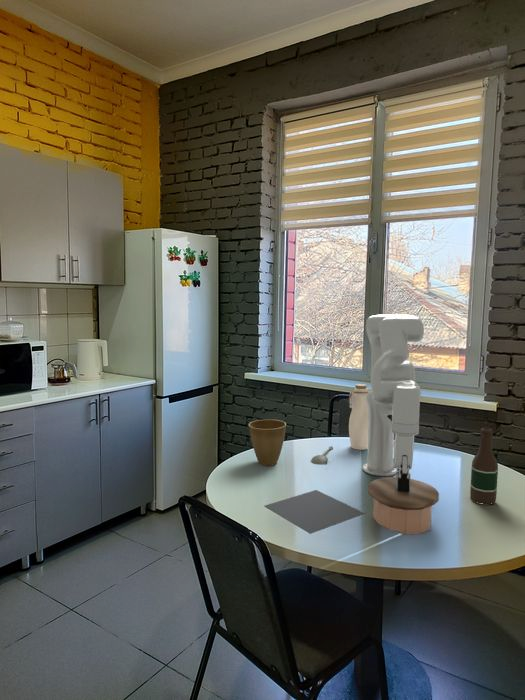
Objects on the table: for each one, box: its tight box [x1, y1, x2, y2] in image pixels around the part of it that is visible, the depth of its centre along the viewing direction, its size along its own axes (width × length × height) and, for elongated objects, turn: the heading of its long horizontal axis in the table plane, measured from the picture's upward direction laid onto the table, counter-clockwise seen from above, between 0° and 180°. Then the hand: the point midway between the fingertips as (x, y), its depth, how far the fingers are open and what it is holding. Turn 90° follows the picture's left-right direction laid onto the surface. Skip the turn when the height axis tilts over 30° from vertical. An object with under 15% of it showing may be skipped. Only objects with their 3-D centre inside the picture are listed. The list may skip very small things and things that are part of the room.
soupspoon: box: [311, 445, 334, 466], centre depth 201 cm, size 22×3×7 cm
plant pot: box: [248, 419, 287, 467], centre depth 192 cm, size 15×15×16 cm
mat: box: [264, 489, 366, 535], centre depth 148 cm, size 22×22×1 cm
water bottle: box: [348, 383, 371, 451], centre depth 211 cm, size 10×9×28 cm
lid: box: [367, 470, 440, 509], centre depth 141 cm, size 20×20×6 cm
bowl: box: [372, 499, 433, 535], centre depth 142 cm, size 16×16×7 cm
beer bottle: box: [469, 427, 499, 504], centre depth 156 cm, size 8×8×24 cm
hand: (402, 487), depth 141 cm, fingers closed on lid, 4 cm apart
